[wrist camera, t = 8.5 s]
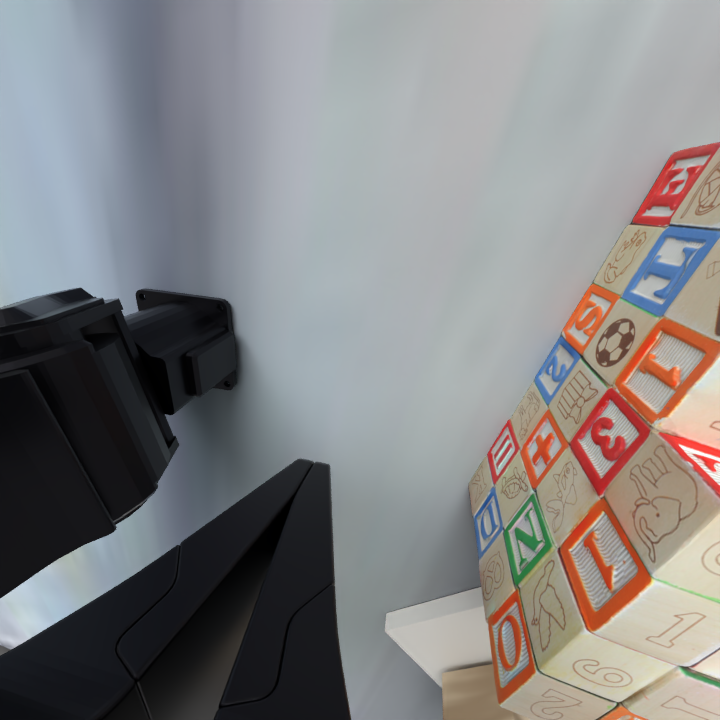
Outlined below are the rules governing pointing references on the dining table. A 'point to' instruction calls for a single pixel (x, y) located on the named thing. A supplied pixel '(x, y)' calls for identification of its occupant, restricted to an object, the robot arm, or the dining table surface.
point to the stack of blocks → (617, 483)
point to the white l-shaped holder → (443, 633)
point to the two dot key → (473, 696)
